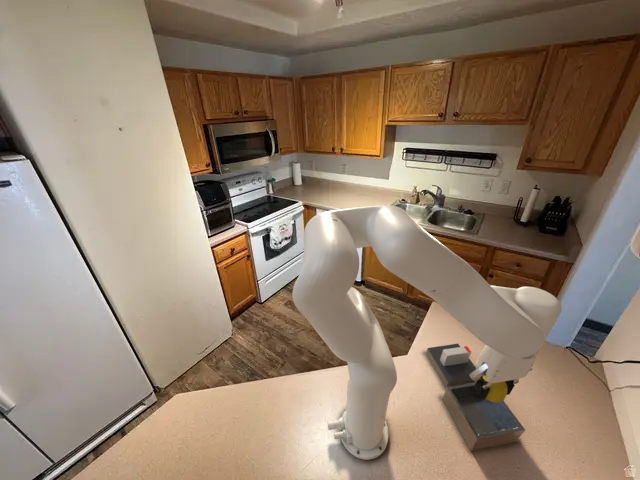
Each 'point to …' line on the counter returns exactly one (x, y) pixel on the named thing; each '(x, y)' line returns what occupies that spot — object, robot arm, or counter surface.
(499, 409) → the basin
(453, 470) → the counter surface
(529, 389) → the counter surface
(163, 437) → the counter surface
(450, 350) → the white block red stripe
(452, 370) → the sink deck
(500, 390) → the lemon
